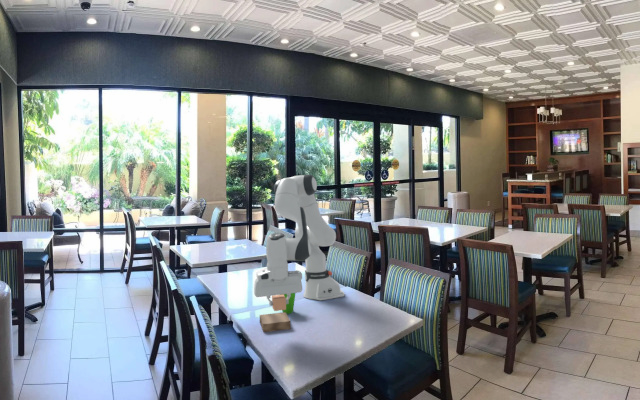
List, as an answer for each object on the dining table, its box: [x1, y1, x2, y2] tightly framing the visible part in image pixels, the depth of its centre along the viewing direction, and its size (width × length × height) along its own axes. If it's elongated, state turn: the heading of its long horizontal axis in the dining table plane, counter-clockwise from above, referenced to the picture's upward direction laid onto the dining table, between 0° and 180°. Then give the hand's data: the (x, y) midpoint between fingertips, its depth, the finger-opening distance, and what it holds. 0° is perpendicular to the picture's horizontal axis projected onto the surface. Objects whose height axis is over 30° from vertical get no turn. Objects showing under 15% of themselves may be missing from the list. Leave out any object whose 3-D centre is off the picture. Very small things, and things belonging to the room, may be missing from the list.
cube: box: [271, 294, 286, 312], centre depth 180 cm, size 5×5×5 cm
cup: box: [281, 293, 296, 315], centre depth 209 cm, size 9×9×11 cm
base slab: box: [259, 311, 292, 333], centre depth 192 cm, size 12×12×4 cm
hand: (279, 304), depth 180 cm, fingers closed on cube, 5 cm apart
